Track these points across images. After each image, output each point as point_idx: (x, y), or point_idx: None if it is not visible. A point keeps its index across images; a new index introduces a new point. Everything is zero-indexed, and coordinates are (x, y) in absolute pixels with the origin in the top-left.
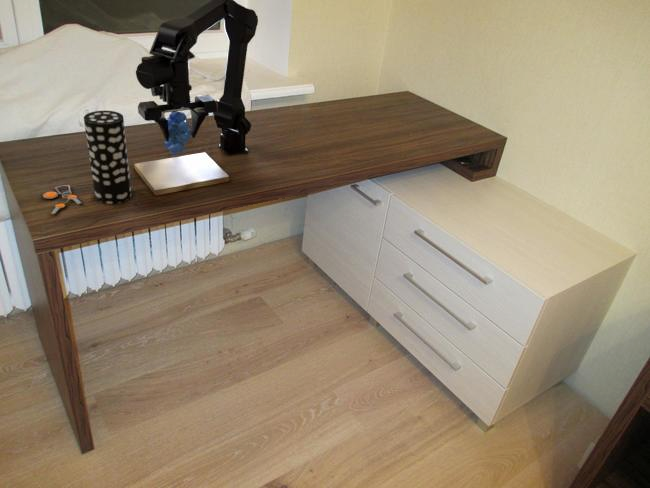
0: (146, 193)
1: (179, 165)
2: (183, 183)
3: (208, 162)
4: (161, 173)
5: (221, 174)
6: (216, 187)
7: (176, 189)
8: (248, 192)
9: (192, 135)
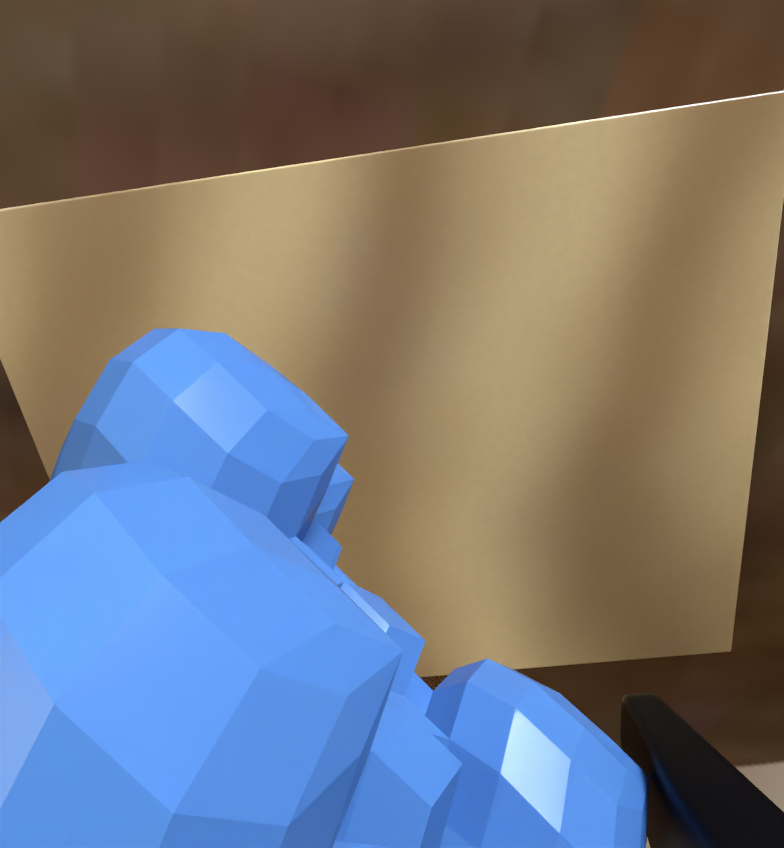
0: None
1: (395, 373)
2: None
3: (698, 377)
4: None
5: (688, 615)
6: (577, 668)
7: None
8: (743, 763)
9: (636, 763)
